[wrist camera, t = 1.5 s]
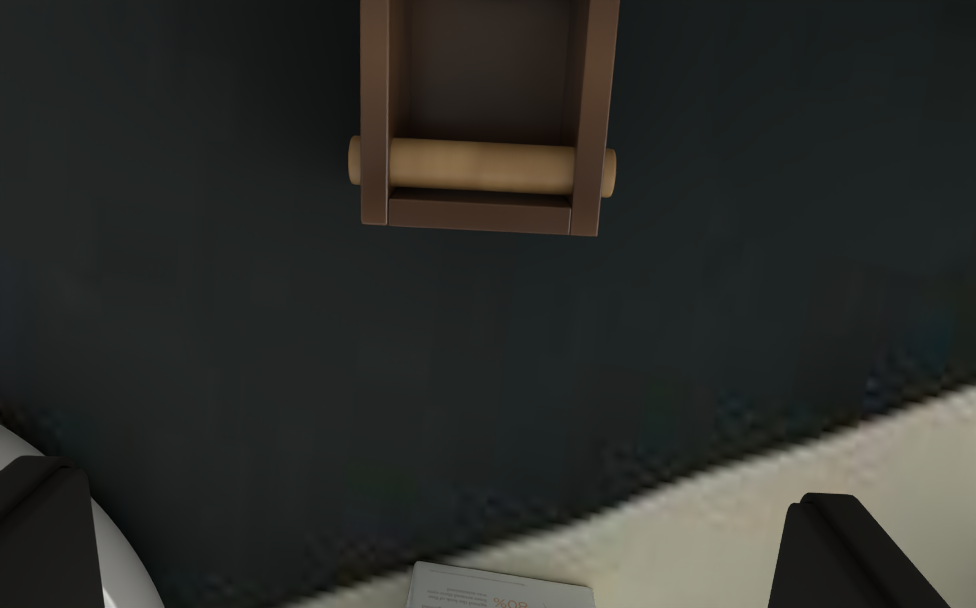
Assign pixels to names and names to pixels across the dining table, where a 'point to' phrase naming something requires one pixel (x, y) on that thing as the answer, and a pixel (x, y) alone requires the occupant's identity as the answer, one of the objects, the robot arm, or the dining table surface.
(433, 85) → the brown wooden shelf box
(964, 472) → the dining table surface
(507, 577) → the small box
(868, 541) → the robot arm
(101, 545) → the bowl
